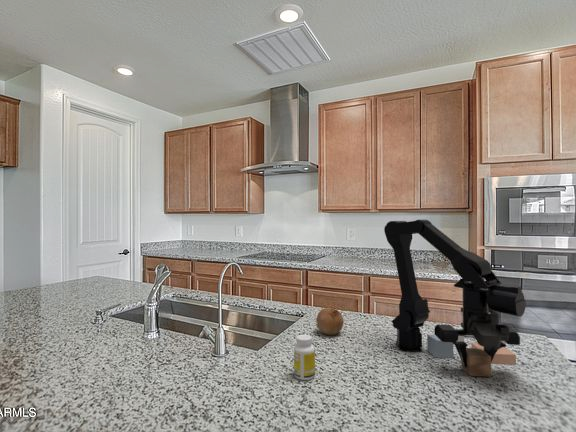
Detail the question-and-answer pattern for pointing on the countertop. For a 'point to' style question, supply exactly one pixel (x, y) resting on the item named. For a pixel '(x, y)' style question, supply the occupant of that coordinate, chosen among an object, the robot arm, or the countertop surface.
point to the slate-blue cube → (439, 347)
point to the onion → (330, 321)
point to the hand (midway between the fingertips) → (475, 367)
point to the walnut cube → (478, 362)
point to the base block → (500, 355)
